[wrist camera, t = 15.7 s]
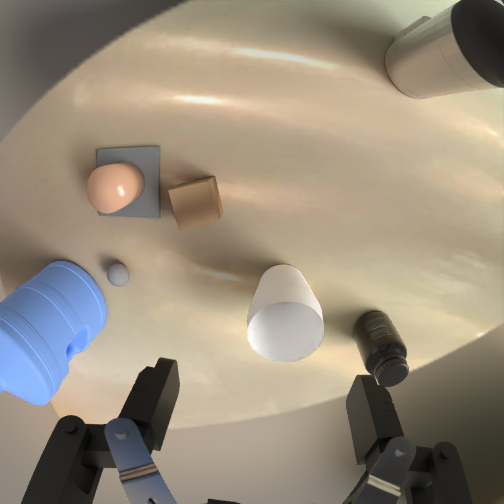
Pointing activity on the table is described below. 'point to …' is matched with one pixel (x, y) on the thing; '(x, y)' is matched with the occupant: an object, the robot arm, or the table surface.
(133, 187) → the peach rounded capsule
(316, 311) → the cup
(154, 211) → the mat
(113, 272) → the grey ball
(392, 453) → the robot arm
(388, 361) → the supplement bottle
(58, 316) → the water jug
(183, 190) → the walnut block
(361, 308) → the table surface
